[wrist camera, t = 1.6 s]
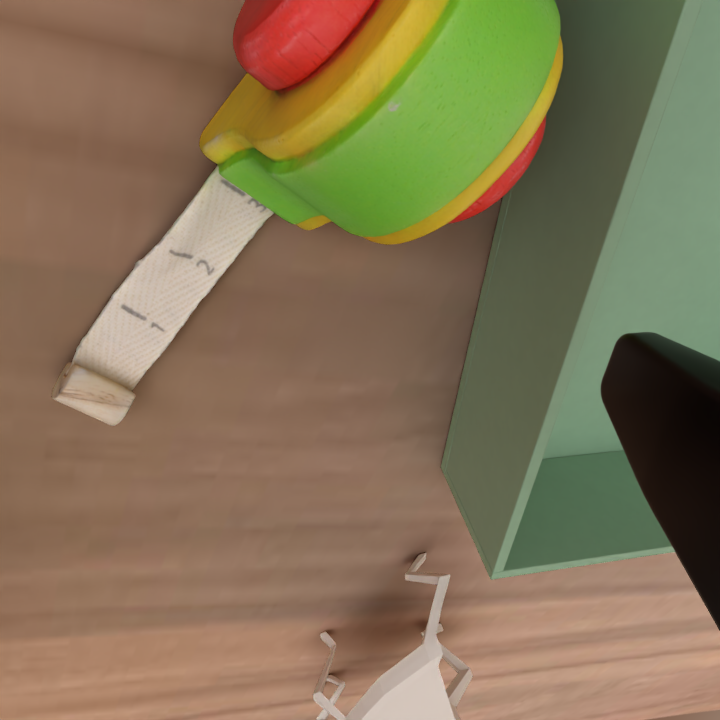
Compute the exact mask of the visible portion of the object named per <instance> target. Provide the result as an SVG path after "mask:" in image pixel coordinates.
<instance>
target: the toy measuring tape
mask: <svg viewBox="0 0 720 720" xmlns="http://www.w3.org/2000/svg"><path fill="white" fill-rule="evenodd" d="M560 30H561V29H560V15H559V11H558V8H557V5H556V3H555V1H554V0H245V2H244V5H243V7H242V9H241V11H240V13H239V16H238V18H237V21H236V24H235V28H234V34H233V46H234V50H235V53H236V56H237V59H238V61H239V63H240V64H241V66H242V67H243V68H244V69H245V70H246V71H247V74H246V75H245V76H244V78H243V79H242V80H241V82H240V83H239V84H238V85H237V87H236V88H235V89H234V90H233V91H232V93H231V94H230V95H229V97H228V98H227V100H226V101H225V102H224V104H223V105H222V106H221V108H220V109H219V110H218V112H217V113H216V114H215V116H214V117H213V118H212V119H211V121H210V122H209V124H208V125H207V126H206V128H205V129H204V131H203V132H202V134H201V137H200V142H199V146H200V149H201V151H202V152H203V154H204V155H205V156H206V157H207V158H209V159H210V160H211V161H213V162H215V163H216V164H217V165H218V166H217V167H216V168H215V170H214V171H213V172H212V173H211V174H210V175H209V177H208V178H207V180H206V181H205V183H204V184H203V186H202V187H201V189H200V190H199V192H198V193H197V194H196V195H195V197H194V198H193V200H192V201H191V202H190V203H189V205H188V206H187V207H186V209H185V210H184V212H183V213H182V214H181V215H180V216H179V217H178V219H177V220H176V221H175V223H174V224H173V226H172V227H171V228H170V229H169V230H168V232H167V233H166V234H165V235H164V237H163V238H162V239H161V241H160V242H159V243H158V244H157V245H155V246H154V247H153V249H152V250H151V251H150V252H149V253H148V254H147V255H146V256H145V257H144V258H143V259H141V260H139V261H137V262H136V263H135V267H134V269H133V271H132V272H131V273H130V274H129V276H128V277H127V278H126V279H125V280H124V282H123V283H122V284H121V286H120V287H119V288H118V289H117V290H116V291H115V292H114V294H113V295H112V297H111V299H110V300H109V302H108V303H107V304H106V306H105V307H104V309H103V310H102V312H101V313H100V315H99V316H98V318H97V320H96V321H95V323H94V324H93V325H92V326H91V328H90V330H89V331H88V333H87V335H85V336H84V337H83V338H82V340H81V342H80V345H79V346H78V347H77V348H76V353H75V355H74V358H73V360H72V362H71V363H67V364H66V366H65V367H64V369H63V371H62V372H61V374H60V376H59V377H58V379H57V381H56V383H55V385H54V387H53V389H52V396H51V397H52V399H54V400H56V401H58V402H60V403H62V404H64V405H67V406H69V407H71V408H73V409H75V410H78V411H80V412H82V413H84V414H86V415H89V416H91V417H93V418H95V419H98V420H100V421H102V422H104V423H106V424H108V425H110V426H115V425H117V424H118V423H120V422H121V421H122V419H123V418H124V417H125V415H126V414H127V412H128V411H129V409H130V407H131V405H132V403H133V402H134V400H135V394H134V393H133V392H132V390H133V389H134V388H135V386H136V385H137V384H138V382H139V381H140V380H141V378H142V377H143V376H144V374H145V373H146V371H147V370H148V369H149V368H150V367H151V366H152V365H153V364H154V362H155V361H156V360H157V359H158V358H159V357H160V356H161V354H162V353H163V352H164V351H165V350H166V348H167V347H168V346H169V345H170V343H171V341H172V340H173V339H174V338H175V336H176V334H177V332H178V331H179V330H180V328H181V327H183V326H184V325H185V323H186V321H187V319H188V318H189V316H190V314H191V313H192V312H193V311H194V310H195V309H196V307H197V305H198V304H199V303H200V301H201V300H202V299H203V298H204V297H205V296H206V295H207V294H208V293H209V292H210V290H211V289H212V288H213V287H214V285H215V284H216V283H217V282H218V280H219V279H220V277H221V276H222V275H223V274H224V272H225V271H226V269H227V268H228V267H229V266H230V265H231V264H232V263H233V262H234V260H235V259H236V257H237V256H238V255H239V253H240V252H241V251H242V249H243V248H244V247H245V246H246V244H247V243H248V242H249V241H250V240H251V239H252V238H253V237H254V235H255V234H256V232H257V231H258V229H259V228H261V227H262V226H263V224H264V223H265V221H266V220H267V219H268V218H269V217H270V216H271V215H273V214H274V213H275V214H277V215H278V216H280V217H281V218H282V219H284V220H286V221H288V222H289V223H291V224H296V225H297V226H298V227H300V228H302V229H305V230H313V229H315V228H318V227H320V226H322V225H324V224H326V223H328V222H334V223H335V224H337V225H338V226H339V227H341V228H342V229H344V230H345V231H347V232H349V233H351V234H354V235H357V236H362V237H364V238H365V239H367V240H369V241H372V242H376V243H380V244H385V245H389V244H400V243H404V242H408V241H412V240H415V239H417V238H420V237H422V236H424V235H427V234H429V233H431V232H433V231H435V230H437V229H438V228H440V227H442V226H444V225H445V224H447V223H455V222H459V221H462V220H465V219H468V218H470V217H472V216H474V215H476V214H478V213H480V212H482V211H484V210H485V209H487V208H488V207H490V206H491V205H492V204H494V203H495V202H497V201H498V200H499V199H501V198H502V197H503V196H504V195H505V194H506V193H508V191H509V190H510V189H511V188H512V187H513V186H514V185H515V183H516V182H517V181H518V180H519V179H520V178H521V176H522V175H523V174H524V172H525V171H526V170H527V168H528V167H529V165H530V163H531V161H532V160H533V158H534V156H535V154H536V152H537V150H538V148H539V146H540V144H541V142H542V139H543V135H544V130H545V125H546V113H547V111H548V109H549V107H550V105H551V103H552V101H553V98H554V96H555V93H556V89H557V86H558V82H559V79H560V76H561V72H562V68H563V45H562V40H561V36H560Z"/></svg>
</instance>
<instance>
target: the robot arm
mask: <svg viewBox="0 0 720 720" xmlns="http://www.w3.org/2000/svg"><path fill="white" fill-rule="evenodd" d="M600 389H601V397H602V401H603V404H604V406H605V408H606V411H607V413H608V415H609V418H610V420H611V422H612V424H613V427H614V429H615V431H616V434H617V436H618V438H619V441H620V443H621V445H622V447H623V450H624V452H625V454H626V457H627V459H628V461H629V464H630V466H631V468H632V470H633V473H634V475H635V477H636V480H637V482H638V484H639V486H640V488H641V490H642V492H643V495H644V497H645V499H646V500H647V502H648V504H649V506H650V508H651V510H652V512H653V513H654V515H655V517H656V519H657V521H658V522H659V524H660V526H661V528H662V529H663V531H664V533H665V535H666V536H667V538H668V540H669V542H670V544H671V545H672V547H673V549H674V551H675V552H676V554H677V556H678V558H679V560H680V561H681V563H682V565H683V567H684V568H685V570H686V572H687V574H688V575H689V577H690V579H691V581H692V583H693V584H694V586H695V588H696V590H697V591H698V593H699V595H700V597H701V598H702V600H703V602H704V604H705V606H706V607H707V609H708V611H709V613H710V614H711V616H712V618H713V620H714V621H715V623H716V625H717V627H718V629H719V630H720V361H718V360H716V359H714V358H712V357H709V356H707V355H705V354H702V353H700V352H698V351H696V350H693V349H691V348H689V347H687V346H684V345H682V344H680V343H677V342H675V341H673V340H671V339H668V338H666V337H664V336H662V335H659V334H657V333H654V332H638V333H626V334H624V335H622V336H621V337H620V338H619V339H618V340H617V341H616V343H615V346H614V349H613V351H612V354H611V357H610V359H609V362H608V365H607V368H606V370H605V373H604V376H603V378H602V382H601V388H600Z"/></svg>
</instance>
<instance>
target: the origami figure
mask: <svg viewBox="0 0 720 720" xmlns="http://www.w3.org/2000/svg"><path fill="white" fill-rule="evenodd" d="M425 560H426V553H423V554H420V555H418V557H417V558H416V560H415V561H414V562H413V564H412V565H411V567H410V568H409V569H408V571H407V572H406V574H405V580H408V581H415V582H421V583H428V584H435V585H437V589H436V593H435V597H434V600H433V604H432V608H431V612H430V615H429V619H428V622H427V626H426V629H425V631H423V632H422V633H421V635H422V638H423V640H422V643H421V645H420V646H419V647H418V648H417V649H415V650H414V651H413V652H411V653H410V654H409V655H407V656H406V657H405V658H404V659H402V660H401V661H400V662H398V663H397V664H396V665H395V666H393V667H392V668H391V669H389V670H388V671H387V672H385V673H384V674H383V675H382V676H380V677H379V678H378V679H377V680H376V681H375V682H374V684H373V685H372V686H371V687H370V688H369V689H368V690H367V692H366V693H365V694H364V695H363V696H362V697H361V699H360V700H359V701H358V702H357V704H356V705H355V706H354V707H353V709H352V710H351V711H350V712H349V714H348V715H347V716H346V717H345V716H344V715H343V714H342V713H341V712H340V711H339V710H338V709H337V708H336V707H335V706H334V705H335V703H336V701H337V699H338V698H339V696H340V694H341V692H342V690H343V689H344V687H345V682H344V681H342V680H340V679H338V678H336V677H335V676H333V675H328V673H329V670H330V667H331V664H332V660H333V657H334V654H335V651H336V643H335V642H334V641H333V639H332V638H331V637H330V636H329V635H328V633H327V632H326V631H325V632H323V633H321V634H320V636H321V640H322V641H323V642H324V643H325V644H327V645H328V646H329V647H330V648H331V650H330V653H329V655H328V658H327V660H326V663H325V665H324V668H323V670H322V673H321V675H320V678H319V680H318V683H317V685H316V688H315V690H314V693H313V698H314V701H315V702H316V703H317V704H319V705H320V706H321V707H322V708H323V710H322V711H321V713H320V714H319V716H318V717H317V719H316V720H326V719H327V717H328V715H329V714H331V715H332V716H334V717H335V718H336V719H337V720H461V719H460V717H459V714H458V712H457V709H456V706H457V705H458V703H459V701H460V699H461V697H462V696H463V694H464V692H465V690H466V688H467V687H468V685H469V683H470V681H471V679H472V677H473V675H472V672H471V670H470V668H469V667H468V666H467V665H466V664H464V663H463V662H462V661H461V660H460V659H458V658H457V657H456V656H455V655H454V654H453V653H451V652H450V651H449V650H448V649H447V648H445V647H444V646H443V645H442V644H441V643H439V641H438V639H437V636H436V634H437V633H439V632H441V631H444V630H443V627H442V625H441V624H438V623H439V619H440V614H441V609H442V604H443V601H444V597H445V594H446V591H447V587H448V584H449V580H450V574H436V573H420V572H416V571H417V569H418V568H419V567H420V566H421V564H422V563H423V562H424V561H425ZM441 658H443V659H444V660H445V661H446V662H447V663H448V664H449V665H450V666H451V667H452V668H453V669H454V670H455V671H456V672H457V673H458V674H457V675H456V677H455V678H454V680H453V681H452V682H451V684H450V685H449V686H448V688H447V689H446V690H445V686H444V683H443V680H442V677H441V674H440V671H439V668H438V664H439V662H440V660H441ZM326 680H327V681H329V682H331V683H333V684H335V685H337V686H338V688H337V689H336V691H335V692H334V694H333V695H332V697H331V698H330V700H328V699H327V698H326V697H325V696H324V695H323V694H322V693H323V690H324V686H325V683H326Z"/></svg>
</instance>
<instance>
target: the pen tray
mask: <svg viewBox="0 0 720 720" xmlns="http://www.w3.org/2000/svg"><path fill="white" fill-rule="evenodd" d="M554 1H555V3H556V5H557V8H558V11H559V15H560V29H561V30H560V36H561V40H562V45H563V68H562V72H561V76H560V79H559V82H558V86H557V89H556V93H555V96H554V98H553V101H552V103H551V105H550V107H549V109H548V111H547V113H546V125H545V130H544V135H543V139H542V142H541V144H540V146H539V148H538V150H537V152H536V154H535V156H534V158H533V160H532V161H531V163H530V165H529V167H528V168H527V170H526V171H525V172H524V174H523V175H522V176H521V178H520V179H519V180H518V181H517V182H516V183H515V185H514V186H513V187H512V188H511V189H510V190H509V191H508V193H506V194H505V195H504V196H503V198H502V203H501V207H500V211H499V216H498V220H497V225H496V229H495V233H494V238H493V242H492V246H491V251H490V255H489V259H488V264H487V268H486V272H485V277H484V281H483V285H482V290H481V294H480V299H479V303H478V307H477V312H476V316H475V320H474V325H473V329H472V333H471V338H470V342H469V346H468V351H467V355H466V359H465V364H464V368H463V373H462V377H461V381H460V386H459V390H458V394H457V399H456V403H455V407H454V412H453V416H452V420H451V425H450V429H449V433H448V438H447V442H446V447H445V451H444V455H443V460H442V464H441V469H442V471H443V473H444V475H445V478H446V480H447V483H448V485H449V487H450V489H451V492H452V494H453V496H454V498H455V501H456V503H457V505H458V507H459V510H460V512H461V514H462V516H463V519H464V521H465V523H466V525H467V527H468V530H469V532H470V534H471V536H472V539H473V541H474V543H475V545H476V548H477V550H478V552H479V554H480V557H481V559H482V561H483V563H484V566H485V568H486V570H487V572H488V575H489V577H490V579H498V578H505V577H511V576H518V575H525V574H531V573H538V572H545V571H551V570H558V569H564V568H571V567H578V566H584V565H591V564H598V563H604V562H611V561H618V560H624V559H631V558H637V557H644V556H651V555H657V554H664V553H671V552H675V551H674V549H673V547H672V545H671V544H670V542H669V540H668V538H667V536H666V535H665V533H664V531H663V529H662V528H661V526H660V524H659V522H658V521H657V519H656V517H655V515H654V513H653V512H652V510H651V508H650V506H649V504H648V502H647V500H646V499H645V497H644V495H643V492H642V490H641V488H640V486H639V484H638V482H637V480H636V477H635V475H634V473H633V470H632V468H631V466H630V464H629V461H628V459H627V457H626V454H625V452H624V450H623V447H622V445H621V443H620V441H619V438H618V436H617V434H616V431H615V429H614V427H613V424H612V422H611V420H610V418H609V415H608V413H607V411H606V408H605V406H604V404H603V401H602V397H601V389H600V388H601V382H602V378H603V376H604V373H605V370H606V368H607V365H608V362H609V359H610V357H611V354H612V351H613V349H614V346H615V343H616V341H617V340H618V339H619V338H620V337H621V336H622V335H624V334H626V333H638V332H654V333H657V334H659V335H662V336H664V337H666V338H668V339H671V340H673V341H675V342H677V343H680V344H682V345H684V346H687V347H689V348H691V349H693V350H696V351H698V352H700V353H702V354H705V355H707V356H709V357H712V358H714V359H716V360H718V361H720V0H554Z"/></svg>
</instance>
